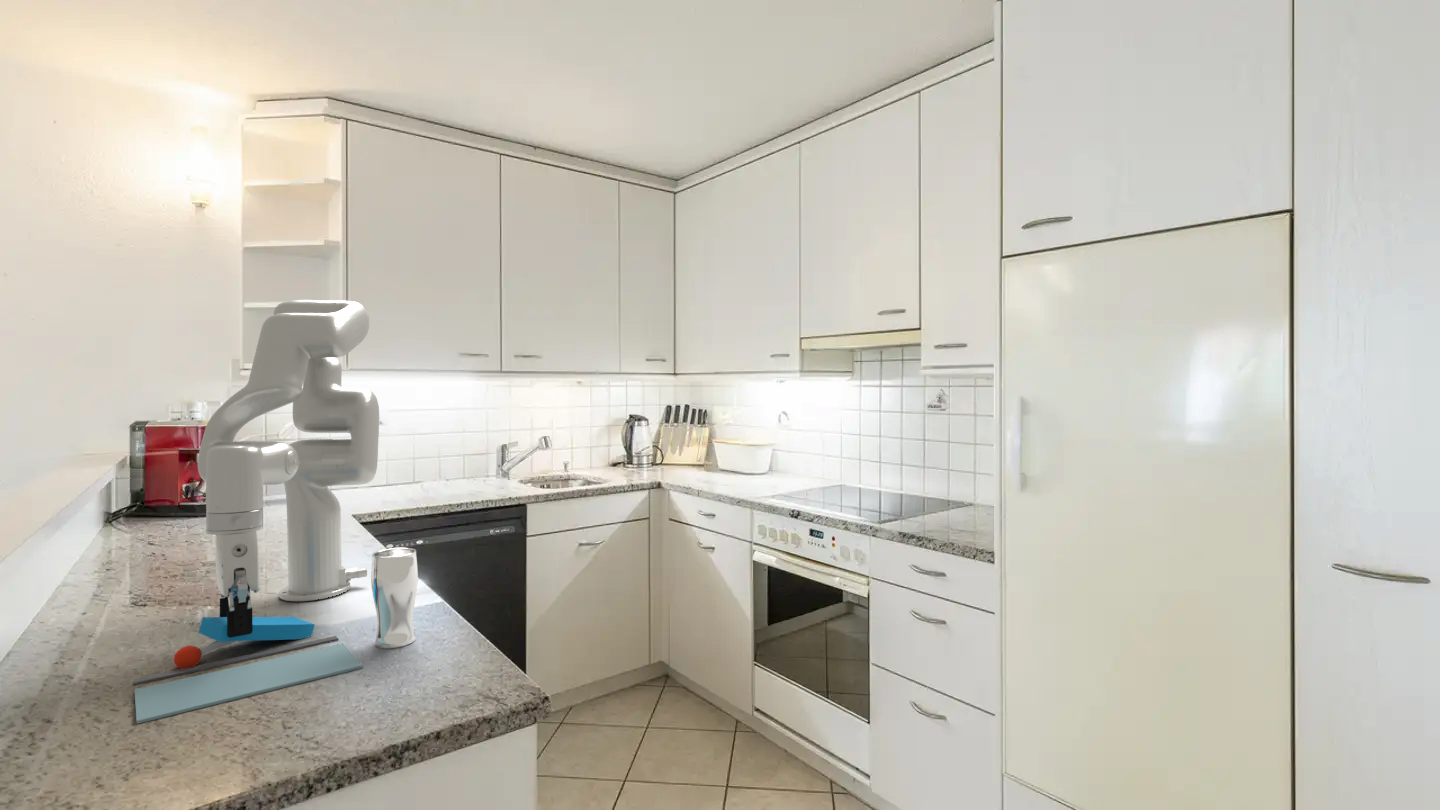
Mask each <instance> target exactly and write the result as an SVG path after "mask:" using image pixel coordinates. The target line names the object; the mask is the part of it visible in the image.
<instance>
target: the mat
mask: <svg viewBox="0 0 1440 810" xmlns="http://www.w3.org/2000/svg"><path fill="white" fill-rule="evenodd" d="M363 666H364V665H363V664H362V663H361V662H360V661H359V660H358V658H357V657H356V656H355V655H354V654H353V653H352V651H350V649H348V647H347V646H346V645H345V644H344V643H337V644H333V645H328V646H324V647H319V648H315V649H312V650H306V651H302V652H298V653H294V654H288V655H284V656H279V657H276V658H270V659H266V660H262V661H258V662H257V661H256V662H251V663H247V664H243V665H239V666H234V667H230V668H225V669H221V670H216V671H212V672H207V673H203V674H198V675H193V676H190V677H185V678H181V679H175V680H170V681H166V682H162V683H159V684H158V683H157V684H153V685H149V686H144V687H139V688H135V689H134V701H135V702H134V706H135V718H136V724H137V725H139V724H141V723H147V722H150V721H155V720H158V719H159V720H160V719H161V718H165V717H170V716H175V715H179V714H182V713H186V712H191V711H195V710H198V709H202V708H206V707H210V706H215V705H218V704H223V703H226V702H227V703H228V702H230V701H235V700H239V699H243V698H247V697H251V696H255V695H258V694H262V693H263V694H264V693H267V692H271V691H276V690H279V689H283V688H287V687H291V686H295V685H299V684H304V683H307V682H311V681H315V680H319V679H324V678H327V677H331V676H332V677H333V676H335V675H340V674H344V673H347V672H348V673H349V672H352V671H354V670H360V669H363V668H364V667H363Z"/></svg>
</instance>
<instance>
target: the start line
mask: <svg viewBox="0 0 1440 810" xmlns="http://www.w3.org/2000/svg"><path fill="white" fill-rule="evenodd" d="M335 640H337V641H339V637H338V636H337V635H334V636H329V637H325V638H320V639H315V640H311V641H310V640H309V641H306V642H302V643H301V642H300V643H296V644H291V645H287V646H283V647H279V648H274V649H268V650H263V651H260V652H254V653H251V654H250V653H249V654H246V655H245V654H244V655H241V656H236V657H231V658H227V659H221V660H217V661H213V662H209V663H204V664H199V665H198V664H197V665H196V666H193V667H189V668H184V669H181V668H178V669H176V670H171V671H167V672H162V673H157V674H156V673H155V674H152V675H148V676H147V675H146V676H143V677H142V676H141V677H138V678H134V679H133V686H136V685H141V684H145V683H149V682H153V681H158V680H162V679H167V678H168V679H169V678H171V677H173V678H174V677H177V676H180V675H185V674H190V673H195V672H199V671H203V670H204V671H205V670H208V669H214V668H219V667H222V666H227V665H231V664H232V665H233V664H235V663H240V662H244V661H250V660H254V659H260V658H264V657H268V656H271V655H278V654H282V653H287V652H290V651H296V650H299V649H305V648H308V647H313V646H318V644H319V645H323V644H326V642H328V643H331V642H330V641H332V642H336V641H335ZM322 643H323V644H322Z"/></svg>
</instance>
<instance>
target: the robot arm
mask: <svg viewBox="0 0 1440 810" xmlns="http://www.w3.org/2000/svg"><path fill="white" fill-rule="evenodd" d="M369 328H370V317H369V314H368V311H367V309H366V308H365V306H364V305H362V303H360V302H357V301H352V300H319V299H318V300H317V299H316V300H315V299H314V300H313V299H296V300H287V301H283V302H281V303H279V304H278V305H277V306H276V307H275V308H274V309H273V315H270V316H269V317H267V318H266V319H265V321H263V323H262V326H261V329H260V332H259V333H260V334H259V337H258V340H257V345H256V349H255V353H254V356H253V357H254V358H253V362H252V366H251V370H250V373H249V378H248V381H247V384H246V385H245V386H244V387H242V388H241V389H240V390H238V391H237V392H235V393H233V395H232V396H230V397H229V398H228V399H227V400H226V401H225V402H223V403H222V405H220V406H219V408H218V409H217V410H216V411H215V412H214V413H213V415H212V416H211V417H210V419H209V420H208V422H207V424H206V426H205V429H204V431H203V432H204V433H203V436H202V440H201V443H200V446H199V452H198V456H197V471H198V474H199V476H200V478H201V479H202V481H204V482H205V491H206V493H205V496H206V497H205V498H206V499H205V500H206V501H205V509H206V510H205V512H206V513H205V520H206V521H205V527H206V528H205V529H206V530H205V534H207V535H215V536H214V537H215V538H214V539H215V541H214V543H215V545H214V546H215V547H214V548H215V573H216V585H217V588H218V590H219V592H220V598H219V617H227V636H228V637H229V638H231V637H236V636H242V635H247V634H251V633H252V631H253V627H252V617H253V607H252V599H251V592H253V593H256V594H257V593H259V591H260V590H261V584H260V583H261V582H260V561H259V560H260V557H259V543H258V535H257V534H258V533H257V531H260V530H263V529H264V486H275V485H281V484H283V486H284V491H285V500H286V528H287V529H286V530H287V531H286V535H287V536H286V537H287V539H286V540H287V586H285V587H283V588H281V589H280V591H279V592H278V593H279V594H278V596H279V599H281V600H283V601H287V602H310V601H311V602H312V601H318V599H319V600H324V599H329V598H333V597H336V595H337V596H340V595H341V593H342V594H344V593H343V592H345V593H346V592H348V591H349V590H350V589H351V582H350V581H351V580H352V579H360V578H366V577H368V568H367V567H362V568H358V567H353V568H345V567H344V566H343V565H342V516H341V515H342V514H341V511H342V510H341V504H340V502H339V500H338V497H336V495H335V494H334V492H333V491H332V490H331V488H329V487H332V486H336V487H337V486H359V485H366V484H369V483H371V482H372V480H373V479H374V478H375V476H376V473H377V470H378V462H379V461H378V459H379V439H380V438H379V434H380V406H379V402H378V398H377V396H376V395H375V393H374V392H373V391H372V390H370V389H368V388H365V387H348V386H347V387H344V386H343V387H342V374H343V372H342V371H343V370H342V369H343V367H342V363H341V361H340V359H339V358H342V357H344V356H347V354H349V353H350V352H352V350H354V349H355V348H357V346H358V345H360V344H361V343H362V342H363V341H364V340H365V338H366V336H367V335H368V333H369ZM290 404H292V422H293V424H294V426H295V428H296V429H297V430H299V431H300V432H304V433H311V434H339V433H340V434H346V433H347V434H350V439H348V438H347V439H345V438H344V439H343V438H341V439H333V438H327V439H325V438H322V439H321V438H319V439H318V438H316V439H313V438H312V439H302V440H296V441H294V442H291V443H286V442H283V441H269V440H268V441H234V440H235V438H236V436H237V434H238V432H239V431H240V430H241V429H242V428H243V427H244V426H246V425H247V424H248V423H249V422H251V421H252V420H254V419H255V418H258V417H260V416H262V415H265V414H268V413H270V412H272V411H274V410H277V409H280V408H282V407H284V406H287V405H290ZM347 590H348V591H347ZM339 594H340V595H339ZM332 596H333V597H332ZM328 597H329V598H328Z"/></svg>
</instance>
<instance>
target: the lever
mask: <svg viewBox="0 0 1440 810" xmlns="http://www.w3.org/2000/svg"><path fill="white" fill-rule="evenodd" d="M252 627H253V631H252V633H251V634H247V635H242V636H236V637H231V638H229V637H228V636H227V617H220V616H218V617H217V616H212V617H211V616H209V617H208V616H203V617H202V619H201V622H200V626H199V628H198V634H200V635H203V636H205V637H208V638H210V639H211V640H214V641H213V642H210V643H209V644H206V645H204V646H202V647H200V648H199V647H198V646H195V645H187V646H183V647H181V648H179V649H178V650H177V651H176V652H175V654H174V657H173V663H174V665H175V666H176V667H177V668H178V669H184V668H189V667H193V666H198V664H199V663H200V662H201V660H202V657H203V656H204V655H207V654H209V653H211V652H215V651H216V650H219V649H221V648H223V647H226V646H229V645H230V644H233V643H235V642H247V641H249V642H252V641H276V640H277V641H279V640H280V641H281V640H303V638H304V639H306V637H307V638H309V637H308V636H311V635H312V636H313V632H314V629H315V623H313V622H310V621H307V620H303V619H302V618H298V617H295V616H252ZM312 636H311V637H312Z"/></svg>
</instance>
